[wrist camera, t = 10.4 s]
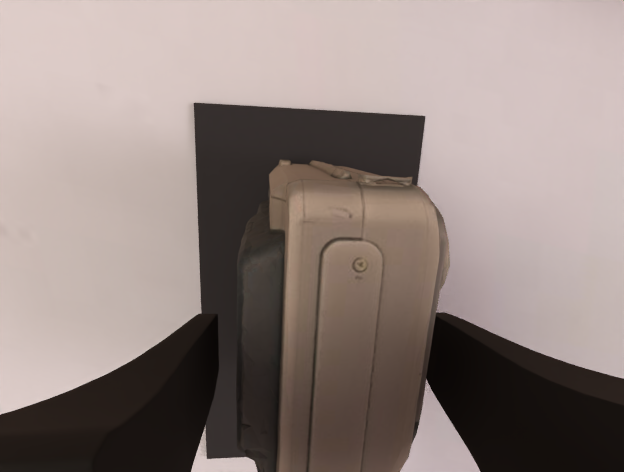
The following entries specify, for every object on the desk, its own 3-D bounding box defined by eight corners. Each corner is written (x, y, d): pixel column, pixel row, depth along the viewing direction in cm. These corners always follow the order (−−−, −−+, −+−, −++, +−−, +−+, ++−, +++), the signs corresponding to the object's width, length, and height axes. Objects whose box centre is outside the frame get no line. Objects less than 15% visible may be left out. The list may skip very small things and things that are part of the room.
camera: (347, 365, 20) (413, 566, 10) (246, 363, 19) (217, 576, 10) (373, 163, 17) (495, 185, 8) (257, 153, 17) (230, 163, 7)
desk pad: (385, 447, 22) (385, 450, 22) (207, 456, 21) (206, 458, 21) (423, 116, 17) (425, 116, 17) (194, 103, 16) (193, 102, 16)
